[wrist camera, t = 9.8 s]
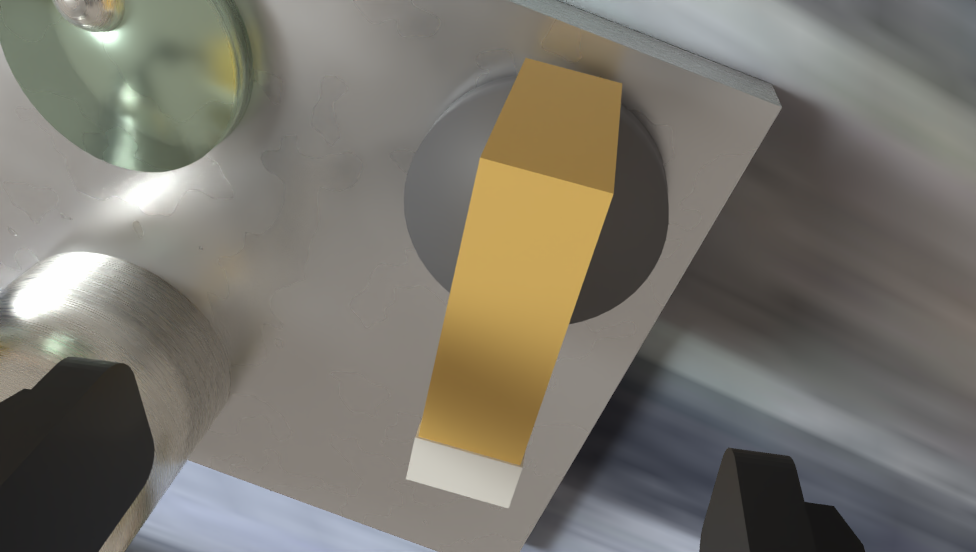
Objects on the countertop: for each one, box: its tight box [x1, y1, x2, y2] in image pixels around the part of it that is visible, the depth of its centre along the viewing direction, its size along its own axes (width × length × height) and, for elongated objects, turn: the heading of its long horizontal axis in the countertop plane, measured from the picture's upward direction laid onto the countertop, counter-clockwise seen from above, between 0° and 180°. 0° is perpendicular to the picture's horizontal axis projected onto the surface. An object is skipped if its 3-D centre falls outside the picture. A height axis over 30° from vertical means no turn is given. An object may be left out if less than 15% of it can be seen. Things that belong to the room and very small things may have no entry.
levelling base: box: [0, 0, 782, 552], centre depth 17 cm, size 18×18×12 cm
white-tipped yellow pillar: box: [404, 58, 669, 508], centre depth 15 cm, size 7×6×6 cm
